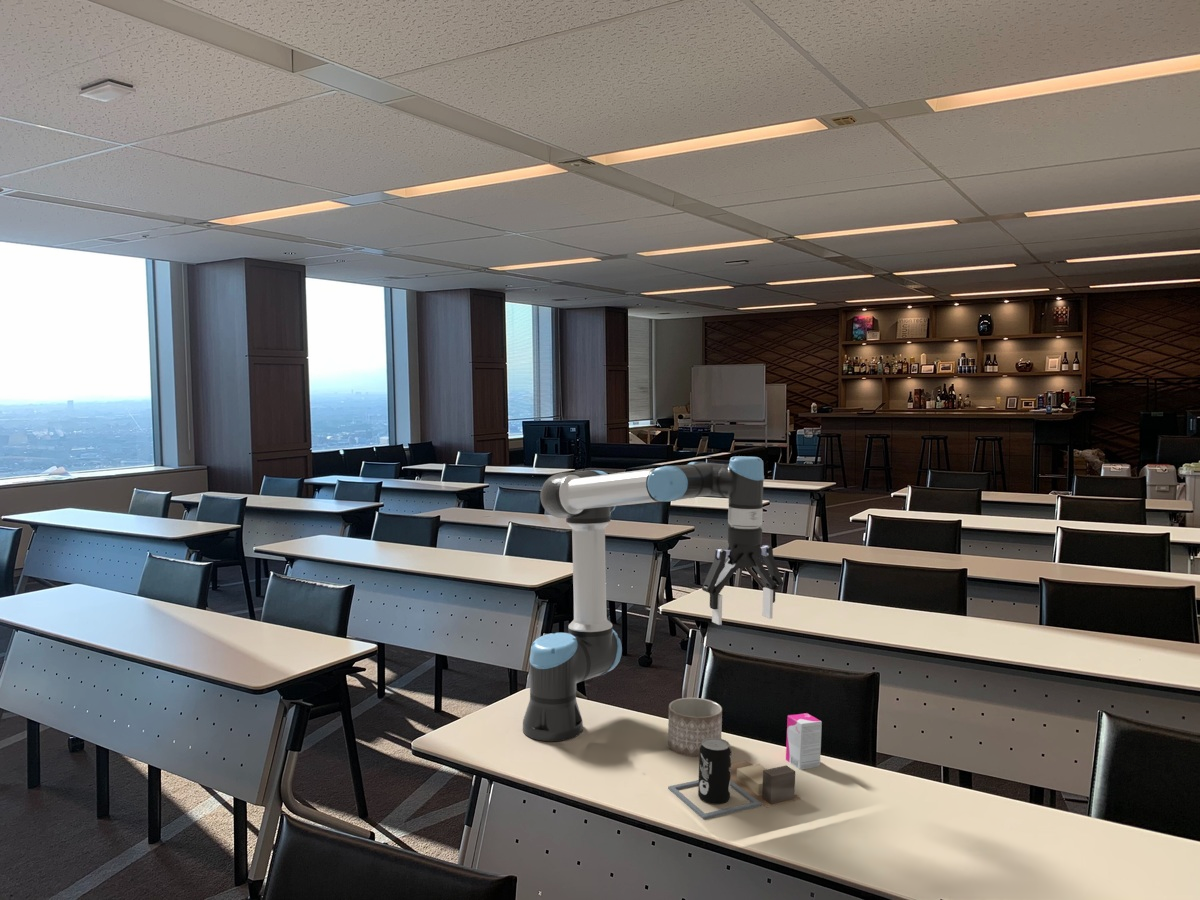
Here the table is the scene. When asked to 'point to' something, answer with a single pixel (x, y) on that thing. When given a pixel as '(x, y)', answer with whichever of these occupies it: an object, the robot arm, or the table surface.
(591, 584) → the robot arm
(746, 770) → the beige wooden block
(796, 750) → the supplement box
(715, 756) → the beverage can
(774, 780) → the brown boxy piece
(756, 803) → the picture frame
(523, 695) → the table surface
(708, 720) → the planter
